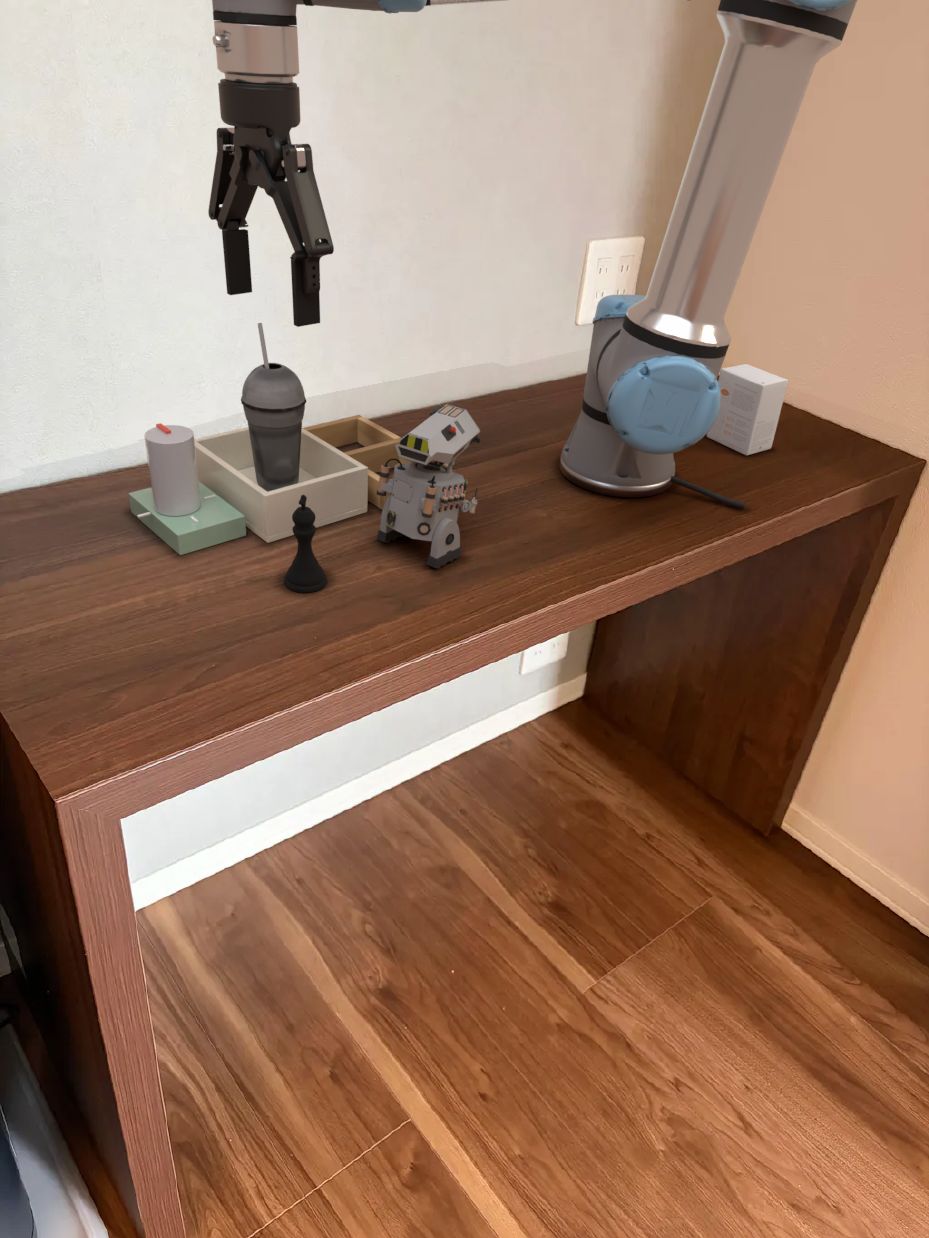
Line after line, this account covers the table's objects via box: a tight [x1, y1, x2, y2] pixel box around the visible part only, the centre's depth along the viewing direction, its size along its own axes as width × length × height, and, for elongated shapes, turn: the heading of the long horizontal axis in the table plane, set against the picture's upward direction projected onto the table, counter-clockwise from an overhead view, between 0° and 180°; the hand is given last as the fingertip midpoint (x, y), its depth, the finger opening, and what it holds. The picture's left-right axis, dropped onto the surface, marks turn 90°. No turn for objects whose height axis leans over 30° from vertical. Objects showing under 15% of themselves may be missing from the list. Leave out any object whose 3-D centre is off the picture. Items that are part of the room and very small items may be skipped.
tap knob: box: [144, 422, 201, 516], centre depth 99 cm, size 5×5×9 cm
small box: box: [706, 363, 789, 456], centre depth 133 cm, size 8×6×10 cm
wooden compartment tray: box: [302, 414, 448, 510], centre depth 117 cm, size 20×10×4 cm, turn 41°
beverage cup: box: [240, 322, 307, 492], centre depth 105 cm, size 7×7×20 cm
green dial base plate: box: [128, 481, 247, 556], centre depth 103 cm, size 12×10×3 cm
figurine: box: [376, 403, 481, 569], centre depth 100 cm, size 9×12×15 cm
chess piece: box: [283, 495, 328, 594], centre depth 92 cm, size 4×4×10 cm
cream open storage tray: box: [194, 426, 369, 544], centre depth 109 cm, size 18×14×6 cm
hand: (272, 308), depth 98 cm, fingers open, 13 cm apart
